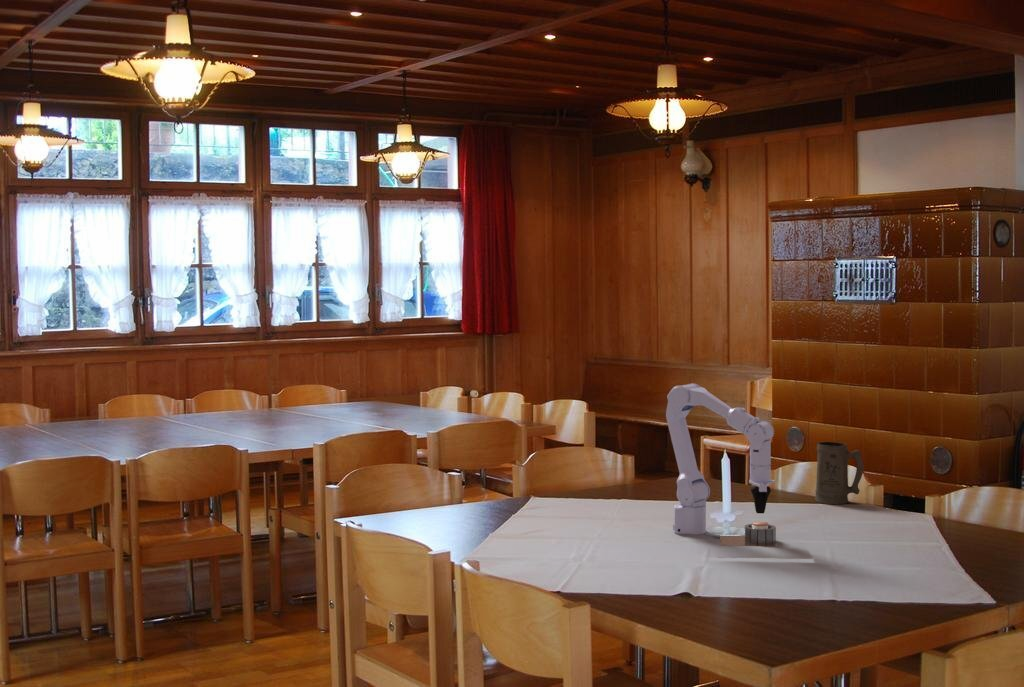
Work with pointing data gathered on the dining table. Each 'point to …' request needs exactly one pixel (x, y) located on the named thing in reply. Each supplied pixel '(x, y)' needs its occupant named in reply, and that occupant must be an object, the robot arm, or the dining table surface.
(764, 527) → the cylindrical peg
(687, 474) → the robot arm
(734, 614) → the dining table surface
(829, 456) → the beer stein
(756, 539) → the peg hole base
